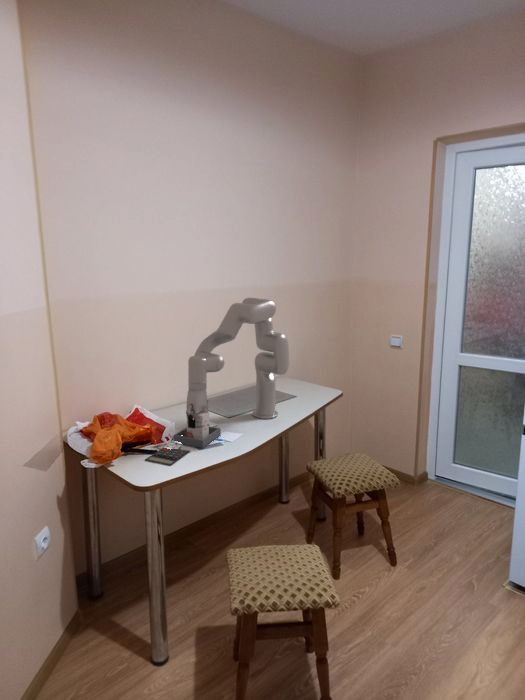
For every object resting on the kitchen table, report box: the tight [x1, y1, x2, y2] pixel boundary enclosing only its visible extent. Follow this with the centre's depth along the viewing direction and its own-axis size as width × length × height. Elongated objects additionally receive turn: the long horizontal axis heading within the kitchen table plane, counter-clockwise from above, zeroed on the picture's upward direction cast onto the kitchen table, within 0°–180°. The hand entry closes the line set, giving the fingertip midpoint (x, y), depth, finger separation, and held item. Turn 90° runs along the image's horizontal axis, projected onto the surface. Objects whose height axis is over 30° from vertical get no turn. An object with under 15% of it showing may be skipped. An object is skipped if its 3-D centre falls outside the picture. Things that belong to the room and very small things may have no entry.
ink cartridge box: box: [186, 405, 210, 440], centre depth 215 cm, size 9×5×15 cm, turn 60°
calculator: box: [144, 447, 191, 467], centre depth 199 cm, size 12×1×15 cm
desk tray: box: [172, 425, 222, 450], centre depth 216 cm, size 16×14×4 cm
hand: (197, 424), depth 215 cm, fingers open, 9 cm apart
